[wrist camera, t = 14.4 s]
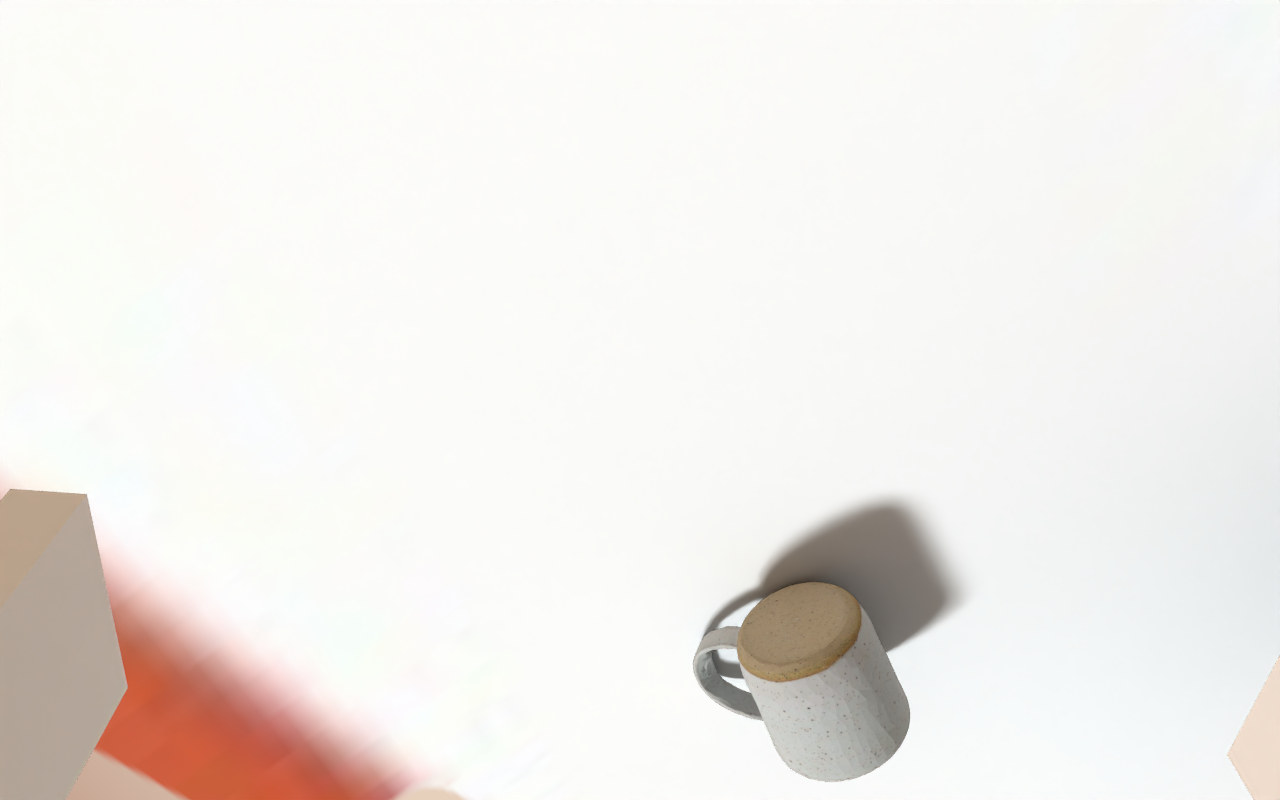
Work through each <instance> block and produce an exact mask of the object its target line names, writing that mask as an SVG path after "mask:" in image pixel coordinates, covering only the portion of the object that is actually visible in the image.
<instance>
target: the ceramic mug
mask: <svg viewBox="0 0 1280 800" xmlns="http://www.w3.org/2000/svg"><path fill="white" fill-rule="evenodd" d="M717 649H737V652H738V659H739V664H740V668H741V671H742V674H743V677H744V679H745V682H746V684H747V686H748V688H749V690H750V692H751V693H749V692H746V691H744V690H741V689H739V688H737V687H735V686H733V685H732V684H730V683H728V682H726V681H725V680H724V679H723V678H722V677H721V676H720V675H719V674H718V672H717V671H716V668H715V665H714V663H713V660H712V652H711V651H712V650H717ZM693 670H694V674H695V677H696V679H697V681H698V683H699V685H700V687H701V688H702V689H703V691H704V692H705V693H706V694H707V695H708V696H709V697H710V698H711V699H712V700H714V701H715V702H716V703H718V704H719V705H721V706H722V707H724V708H726V709H728V710H730V711H732V712H734V713H737V714H740V715H743V716H745V717H748V718H751V719H757V720H762V721H764V723H765V725H766V727H767V730H768V732H769V734H770V737H771V739H772V741H773V744H774V746H775V748H776V750H777V752H778V754H779V755H780V757H781V758H782V760H783V761H784V762H785V763H786V764H787V765H788V767H789V768H790V769H792V770H793V771H795V772H797V773H798V774H801V775H803V776H805V777H807V778H809V779H814V780H819V781H825V782H838V781H844V780H850V779H854V778H857V777H860V776H862V775H865V774H867V773H870V772H871V771H873V770H875V769H876V768H878V767H880V766H881V765H883V764H884V763H885V762H886V761H888V760H889V759H890V758H891V757H892V756H893V755H894V754H895V752H896V751H897V750H898V748H899V747H900V746H901V744H902V742H903V740H904V738H905V736H906V734H907V731H908V728H909V722H910V709H909V704H908V700H907V697H906V695H905V693H904V691H903V688H902V686H901V684H900V682H899V680H898V678H897V676H896V674H895V672H894V669H893V667H892V665H891V663H890V661H889V658H888V656H887V654H886V652H885V650H884V648H883V646H882V644H881V642H880V640H879V637H878V635H877V633H876V631H875V628H874V626H873V624H872V622H871V620H870V618H869V616H868V615H867V613H866V611H865V610H864V609H863V607H862V606H861V605H860V603H859V602H858V601H857V600H856V599H855V598H854V596H853V595H852V594H850V593H849V592H848V591H846V590H845V589H843V588H841V587H839V586H836V585H833V584H828V583H822V582H807V583H800V584H794V585H791V586H787V587H785V588H783V589H781V590H778V591H776V592H774V593H772V594H770V595H769V596H768V597H766V598H765V599H763V600H762V601H760V602H759V603H758V604H757V605H756V606H755V607H754V608H753V609H752V610H751V612H750V613H749V614H748V615H747V617H746V618H745V620H744V622H743V624H742V626H741V627H734V626H727V627H723V628H720V629H716V630H713V631H711V632H709V633H708V634H706V635H705V636H704V637H703V639H702V641H701V643H700V645H699V647H698V649H697V652H696V654H695V656H694V660H693Z"/></svg>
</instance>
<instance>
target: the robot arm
mask: <svg viewBox="0 0 1280 800" xmlns="http://www.w3.org/2000/svg"><path fill="white" fill-rule="evenodd" d="M127 688H128V686H127V682H126V677H125V672H124V668H123V663H122V658H121V653H120V649H119V644H118V639H117V635H116V630H115V625H114V620H113V616H112V611H111V606H110V602H109V597H108V592H107V587H106V583H105V578H104V573H103V569H102V564H101V559H100V554H99V550H98V545H97V540H96V536H95V531H94V526H93V522H92V517H91V512H90V507H89V503H88V498H87V494H75V493H61V492H46V491H32V490H17V489H10V490H9V491H8V493H7V494H6V495H5V496H4V497H3V498H2V499H1V501H0V800H66V799H67V797H68V795H69V794H70V792H71V790H72V788H73V786H74V784H75V783H76V781H77V779H78V777H79V775H80V774H81V772H82V770H83V768H84V766H85V764H86V763H87V761H88V759H89V757H90V755H91V754H92V752H93V750H94V748H95V746H96V744H97V743H98V741H99V739H100V737H101V735H102V734H103V732H104V730H105V728H106V726H107V724H108V723H109V721H110V719H111V717H112V715H113V714H114V712H115V710H116V708H117V706H118V704H119V703H120V701H121V699H122V697H123V695H124V693H125V692H126V690H127ZM1227 756H1228V757H1229V759H1230V761H1231V762H1232V764H1233V766H1234V767H1235V769H1236V771H1237V772H1238V774H1239V776H1240V777H1241V779H1242V781H1243V783H1244V784H1245V786H1246V788H1247V789H1248V791H1249V793H1250V794H1251V796H1252V798H1253V799H1254V800H1280V656H1279V658H1278V660H1277V661H1276V663H1275V665H1274V667H1273V669H1272V671H1271V673H1270V675H1269V677H1268V678H1267V680H1266V682H1265V684H1264V686H1263V688H1262V690H1261V692H1260V694H1259V695H1258V697H1257V699H1256V701H1255V703H1254V705H1253V707H1252V709H1251V711H1250V712H1249V714H1248V716H1247V718H1246V720H1245V722H1244V724H1243V726H1242V727H1241V729H1240V731H1239V733H1238V735H1237V737H1236V739H1235V741H1234V743H1233V744H1232V746H1231V748H1230V750H1229V752H1228V754H1227Z"/></svg>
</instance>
